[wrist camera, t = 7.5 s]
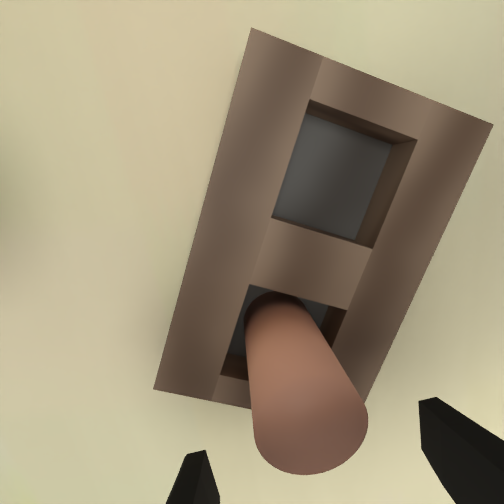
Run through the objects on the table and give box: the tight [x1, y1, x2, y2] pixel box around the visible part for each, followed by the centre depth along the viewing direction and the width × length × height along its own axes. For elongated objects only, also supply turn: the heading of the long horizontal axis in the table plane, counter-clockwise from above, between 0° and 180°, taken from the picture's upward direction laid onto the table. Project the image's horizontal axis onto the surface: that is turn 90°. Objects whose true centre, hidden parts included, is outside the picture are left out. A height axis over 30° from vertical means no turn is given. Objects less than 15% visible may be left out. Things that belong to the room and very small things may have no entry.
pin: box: [244, 291, 368, 475], centre depth 14 cm, size 4×4×8 cm
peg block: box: [153, 27, 493, 409], centre depth 16 cm, size 12×18×3 cm, turn 163°
